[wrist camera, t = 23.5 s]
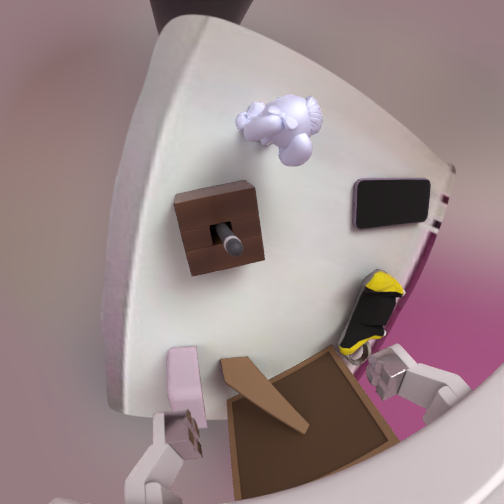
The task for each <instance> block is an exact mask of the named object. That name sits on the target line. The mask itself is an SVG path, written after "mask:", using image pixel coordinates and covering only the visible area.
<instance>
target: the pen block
mask: <svg viewBox="0 0 504 504" xmlns="http://www.w3.org/2000/svg"><path fill="white" fill-rule="evenodd" d="M174 207H175V212H176V216H177V220H178V224H179V229H180V232H181V237H182V241H183V245H184V249H185V253H186V256H187V260H188V264H189V268H190V272H191V275H192V276H197V275H201V274H206V273H210V272H215V271H219V270H224V269H228V268H232V267H237V266H241V265H245V264H250V263H254V262H258V261H263V260H265V257H264V249H263V242H262V235H261V227H260V220H259V213H258V205H257V198H256V191H255V187H254V186H252V185H251V184H250V183H248V182H247V181H246V180H243V181H237V182H232V183H227V184H221V185H216V186H212V187H207V188H202V189H197V190H193V191H188V192H184V193H179V194H176V196H175V201H174ZM224 222H227V226H228V227H229V229H230V230H231V231H232V232H233V234H234V235H235V236H236V237H237V238H238V239H239V240H240V241H241V243H242V245H243V252H242V254H241V255H239V256H237V257H233V256H231V255H230V254H229V253H228V252H227V251H226V249H225V247H224V244H223V242H222V240H221V239H220V237H219V235H218V233H217V231H216V229H214V230H210V227H209V226H210V225H214V224H219V223H224Z"/></svg>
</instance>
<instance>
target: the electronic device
mask: <svg viewBox="0 0 504 504" xmlns="http://www.w3.org/2000/svg"><path fill="white" fill-rule="evenodd" d="M167 394H168V398H169V402H170V405H171V409H172V411H176V410H183V409H189V411H190V412H191V417H193V418H194V419H195V421H196V423H197V426H198V429H200V428H207V422H206V415H205V408H204V401H203V394H202V387H201V380H200V373H199V365H198V357H197V349H196V346H189V347H174V348H171V349H170V350H169V351H168V353H167Z"/></svg>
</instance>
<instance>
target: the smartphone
mask: <svg viewBox="0 0 504 504" xmlns="http://www.w3.org/2000/svg"><path fill="white" fill-rule="evenodd" d="M430 187H431V184H430V181H429V180H428V179H425V178H368V179H358V180H357V181H356V182H355V185H354V205H353V225H354V227H355V228H357V229H359V230H363V229H371V228H379V227H387V226H395V225H403V224H411V223H419V222H424V221H425V220H426V219H427V216H428V209H429V199H430Z"/></svg>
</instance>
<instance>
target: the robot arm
mask: <svg viewBox="0 0 504 504" xmlns="http://www.w3.org/2000/svg"><path fill="white" fill-rule="evenodd" d="M368 361H369V363H370V364H369V365H368V366H367V369H366V375H367V378H368V381H369V382H370V383H371V385H373V386H376V392H377V393H378V395H379V396H380V397H381V399H382V401H384V400H386V399H387V398H390V397H392V396H394V395H396V394H397V395H399V396H401V397H403V398H405V399H407V400H409V401H411V402H413V403H415V404H417V405H420V406H422V407H424V408H426V409H427V411H426V412H425V414H424V416H423V421H424V422H425V423H426V425H427V426H425V427H424V428H422V429H421V430H419V431H417V432H416V433H414V434H413V435H411V436H409V437H408V438H406V439H404V440H403V441H401V442H399V443H397V444H396V445H394V446H392V447H390V448H388V449H386V450H384V451H383V452H381V453H379V454H377V455H375V456H373V457H371V458H369V459H367V460H364V461H362V462H360V463H358V464H356V465H353V466H351V467H349V468H347V469H344V470H342V471H339V472H337V473H334V474H332V475H329V476H327V477H324V478H321V479H318V480H315V481H313V482H310V483H307V484H304V485H300V486H297V487H294V488H290V489H287V490H283V491H280V492H276V493H272V494H268V495H264V496H259V497H255V498H250V499H245V500H239V501H234V502H227V503H220V504H504V363H503V364H502V365H501V366H500V367H499V368H498V369H497V370H496V371H495V372H493V374H491V375H490V376H489V377H488V378H487V379H486V380H485V381H484V382H483V383H482V384H481V385H479V386H478V387H477V388H476V389H475V390H472V389H471V388H470V387H469V386H468V385H467V384H466V383H465V382H464V381H463V379H462V378H461V377H460V376H459V375H456V374H453V373H450V372H447V371H443V370H440V369H437V368H434V367H431V366H428V365H424V364H421V363H419V364H417V363H416V362H415V361H414V360H413V359H412V358H411V356H410V355H409V354H408V353H407V352H406V351H405V350H404V349H403V348H402V347H401V346H400V345H399V344H394V345H392V346H391V347H388V348H385V349H383V350H381V351H379V352H377V353H374V354H372V355H370V357H369V359H368ZM199 437H200V436H199V430H198V426H197V423H196V421H195V419H194V418H193V417H191V412H190V411H189V409H183V410H176V411H168V412H159V413H154V414H153V445H149V447H148V448H147V450H146V451H145V453H144V454H143V456H142V457H141V459H140V460H139V461H138V463H137V464H136V466H135V467H134V469H133V470H132V472H131V473H130V475H129V476H128V477H127V479H126V480H125V504H182V499H181V498H180V497H178V496H177V495H175V494H174V493H172V492H171V491H170V490H171V488H172V485H173V484H174V482H175V480H176V477H177V475H178V473H179V471H180V469H181V467H182V465H183V463H184V460H189V459H196V458H202V457H203V456H202V450H201V444H200V443H199V442H198V438H199ZM49 504H92V503H86V502H80V501H74V500H70V499H65V498H55V499H53V500H52V501H51V502H50V503H49Z"/></svg>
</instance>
